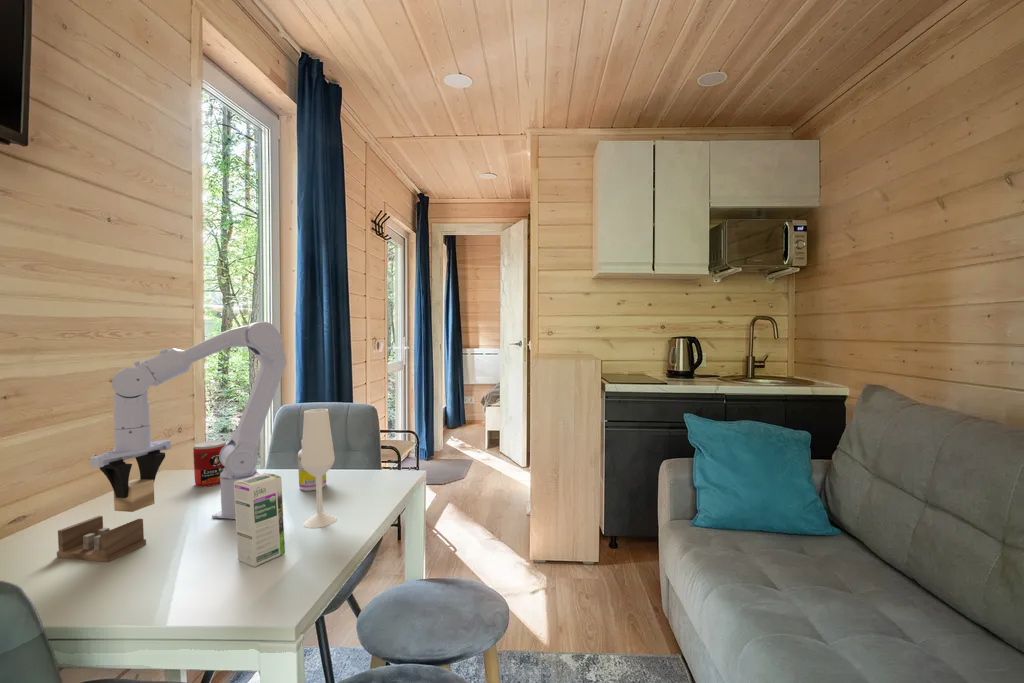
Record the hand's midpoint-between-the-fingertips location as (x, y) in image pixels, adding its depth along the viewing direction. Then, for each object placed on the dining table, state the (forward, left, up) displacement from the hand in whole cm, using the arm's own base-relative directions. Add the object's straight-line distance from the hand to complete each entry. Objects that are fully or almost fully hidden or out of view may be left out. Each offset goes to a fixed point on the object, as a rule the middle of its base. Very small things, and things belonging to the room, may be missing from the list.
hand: (134, 493), depth 94 cm
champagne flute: (-33, -13, -9) cm, 37 cm away
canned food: (+15, -33, -9) cm, 37 cm away
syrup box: (-32, +3, -9) cm, 34 cm away
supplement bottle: (-17, -33, -9) cm, 38 cm away
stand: (+1, +6, -9) cm, 11 cm away
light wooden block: (0, 0, -3) cm, 3 cm away
